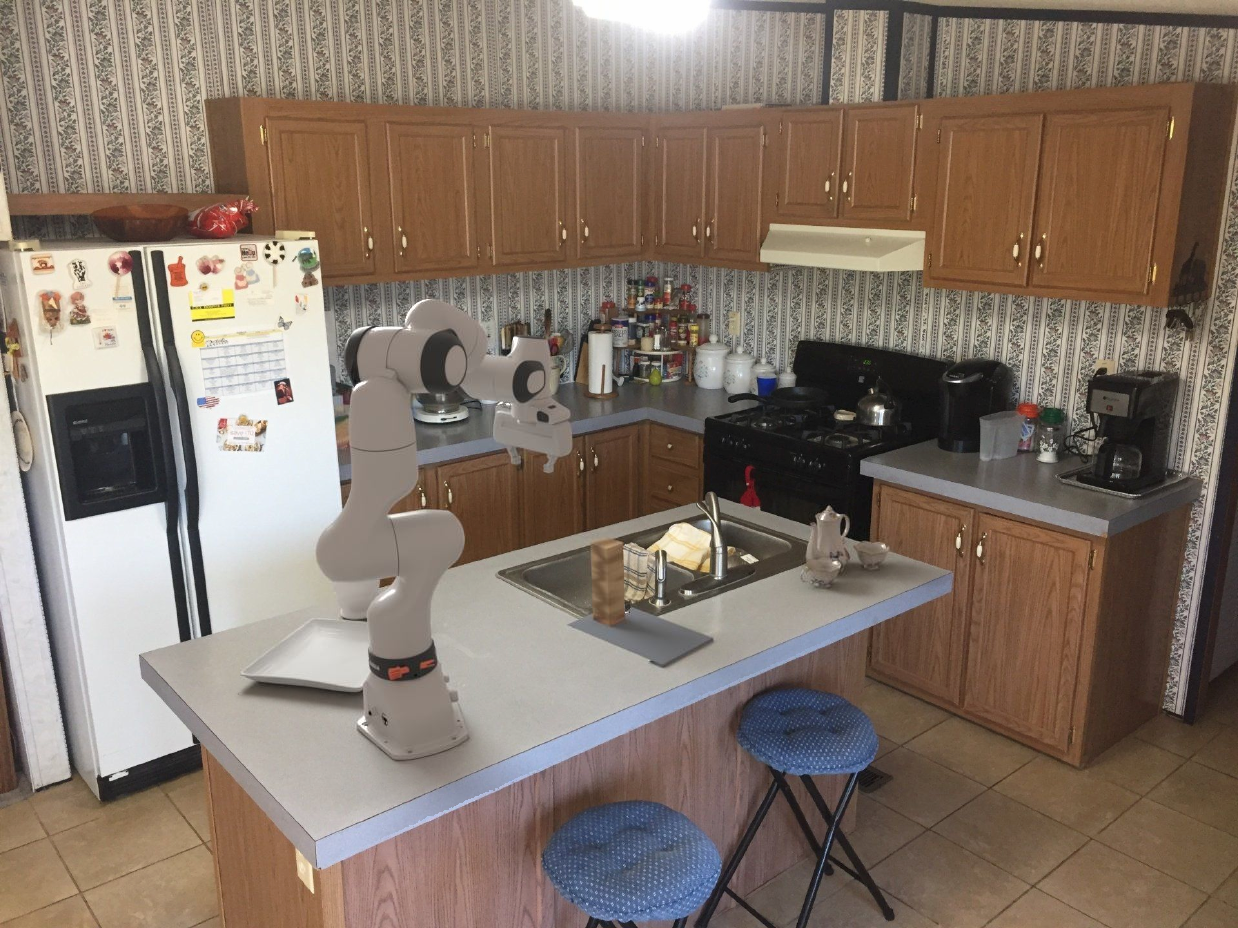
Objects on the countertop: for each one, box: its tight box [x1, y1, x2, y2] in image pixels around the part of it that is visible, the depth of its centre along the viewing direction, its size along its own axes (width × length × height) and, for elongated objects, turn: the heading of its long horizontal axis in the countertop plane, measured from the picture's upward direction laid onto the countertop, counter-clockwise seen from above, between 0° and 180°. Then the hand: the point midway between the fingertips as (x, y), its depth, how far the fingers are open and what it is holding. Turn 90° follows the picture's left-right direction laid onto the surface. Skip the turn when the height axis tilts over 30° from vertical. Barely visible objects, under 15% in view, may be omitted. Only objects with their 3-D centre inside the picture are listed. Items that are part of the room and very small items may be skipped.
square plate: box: [239, 617, 370, 693], centre depth 209 cm, size 27×27×4 cm
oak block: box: [590, 537, 626, 626], centre depth 222 cm, size 5×5×18 cm
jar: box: [331, 579, 381, 621], centre depth 231 cm, size 11×10×15 cm
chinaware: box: [799, 505, 892, 589], centre depth 247 cm, size 28×17×17 cm, turn 132°
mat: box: [567, 606, 714, 668], centre depth 219 cm, size 28×16×1 cm, turn 46°
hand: (532, 467), depth 227 cm, fingers open, 8 cm apart
